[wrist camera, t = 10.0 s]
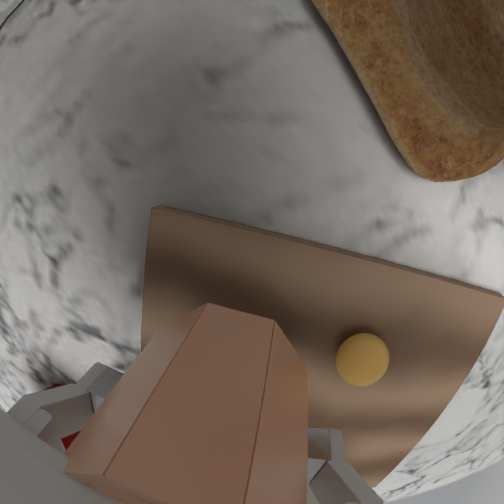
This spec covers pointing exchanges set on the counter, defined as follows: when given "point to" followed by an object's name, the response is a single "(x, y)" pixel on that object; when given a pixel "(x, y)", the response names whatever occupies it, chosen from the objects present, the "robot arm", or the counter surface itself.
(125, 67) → the counter surface
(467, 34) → the stone cup
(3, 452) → the robot arm
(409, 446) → the walnut board
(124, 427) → the terracotta cup
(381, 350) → the amber marble
